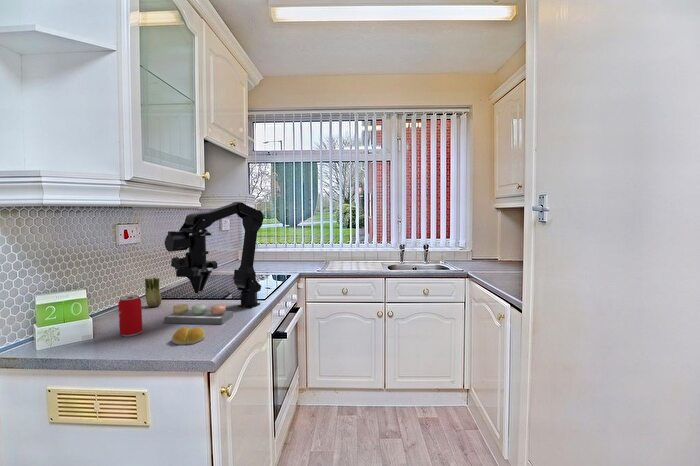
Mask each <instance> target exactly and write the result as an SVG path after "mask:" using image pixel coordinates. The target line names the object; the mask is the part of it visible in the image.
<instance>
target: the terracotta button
mask: <svg viewBox="0 0 700 466" xmlns="http://www.w3.org/2000/svg"><path fill="white" fill-rule="evenodd" d="M226 308H227V306H226V305H225V304H214V305H211V306H210V311H211V314H221V313H224V312H226V311H227V310H226Z"/></svg>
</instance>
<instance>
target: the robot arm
mask: <svg viewBox="0 0 700 466" xmlns="http://www.w3.org/2000/svg"><path fill="white" fill-rule="evenodd" d="M233 215H236V216H237V217H239V218H240V219H241V220H242V223H241V224H242V227H243V229H244V236H243V244H242V245H243V246H242V251H241V259H240V265H239V267H238V269H234V271H233V278H232V280H233V283H234V285H235V286H236V288H237V291H240V304H238V307H241V308H247V309H252V308H255V307H256V306H259V305H261V302H258V292H261V289H262V284H260V283H259V282H258V281H257V276H256V275H257V274H256V271H255V268H254V263H255V262H254V260H255V253H256V245H257V239H258V237H257V236H258V232H259V231H260V229H261V227H262V226H263V222H264V219H265V218H264V217H265V216H264V213H263V212H262V211H261V210H259V209H256V208H254V207H252V206H250V205H247V204H245V203H244V202H242V201H234V202H231V203H229V204H226V205H223V206H221V207H218V208H215V209H212V210H210V211H204V212H201V211H200V212H194V213H189V214H187V215H186V216H185V220H184V222H183V223H182V225H181V226H180V228H179V230H178V231H176V230H175V231H173V230H171V231H167V235H166V236H165V239H164V247H165V251H167V252H170V253H171V252H182V251H187V250H188V252H186V253H185V256H184V257H181V258H180V257H179V256H175V257H173V258H171V260H170V261H171V262H170V266H171V267H172V268H174V270H175V277H176V278H178V277H179V278H186V279H188V280H189V282H190V284H191V286H192V289H193V291H194V293H195V294H199V293H200V292H203V291H204V289H205V287H206V284H207V282H208V279H209V277H210V276H211V273H213V270H215V269H218V262H217V261H216V260H207V255H209V250H207V237H209V236H212V233H211V232H210V231H208V229H207V228H209V227H211V226H212V225H213V224H214V223H215V222H217V221H219V220H222V219H226V218H227V217H230V216H233ZM209 269H213V270H209Z"/></svg>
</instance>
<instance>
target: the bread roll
mask: <svg viewBox="0 0 700 466" xmlns="http://www.w3.org/2000/svg"><path fill="white" fill-rule="evenodd" d="M205 338H206V332H205V330H204V329H203V328H201V327H192V328H188V327H179V328H178V329H177V330H176V331H175V332H174V333H173V334H172V336H171V342H172V343H173V344H176V345H186V344H187V345H194V344H197V343H200V342H201V341H204V339H205Z"/></svg>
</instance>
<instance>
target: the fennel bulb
mask: <svg viewBox="0 0 700 466" xmlns="http://www.w3.org/2000/svg"><path fill="white" fill-rule="evenodd" d="M144 284H145V293H144V295H145V300H146V304H147V306H148V307H149V308H157V307H159V306H160V305H161V304H162V294H161V291H160V278H159V277H149V278H148V277H146V278H144Z"/></svg>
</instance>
